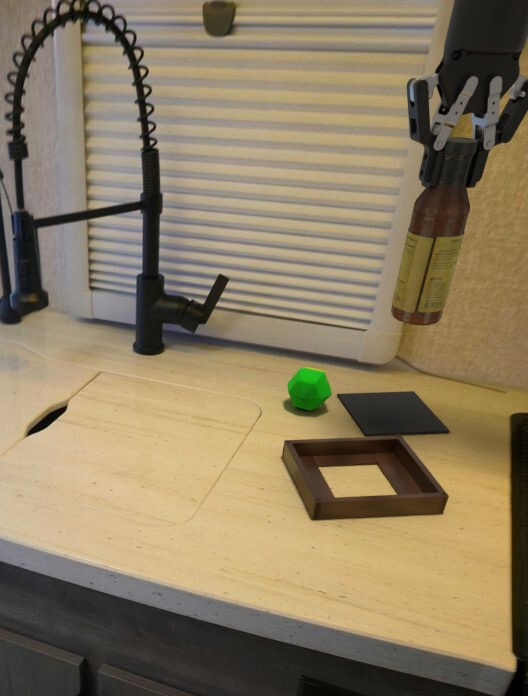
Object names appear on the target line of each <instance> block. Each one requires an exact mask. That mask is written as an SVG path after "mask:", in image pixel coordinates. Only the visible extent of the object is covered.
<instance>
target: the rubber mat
mask: <svg viewBox="0 0 528 696" xmlns="http://www.w3.org/2000/svg"><path fill="white" fill-rule="evenodd" d="M336 396H337V398H338V400H339V401H340V402H341V404H342V405H343V407H344V408H345V410H346V411H347V413H348V414H349V415H350V416H351V419H352V420H353V421H354V422H355V424H356V426H358V428H359V429H360V431H361V432H362V434H363V435H364V437H380V436H408V435H409V436H410V435H432V434H450V431H451V430H450V429H449V428H448V427H447V426H446V425H445V424H444V423H443V421H442V420H441V419H440V418H439V417H438V415H436V414H435V413H434V411H433V410H432V409H431V408H430V407H429V406H428V405H427V404H426V403H425V402H424V400H422V398H421V397H420V396H419V395H418V394H417V393H416V392H415V390H411V391H410V390H409V391H407V390H405V391H382V392H381V391H379V392H375V391H374V392H351V393H350V392H348V393H337V395H336Z"/></svg>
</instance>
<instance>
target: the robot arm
mask: <svg viewBox="0 0 528 696" xmlns="http://www.w3.org/2000/svg"><path fill="white" fill-rule="evenodd" d="M527 41H528V0H454V1H453V5H452V8H451V13H450V18H449V22H448V26H447V30H446V36H445V40H444V44H443V54H442V58H441V60H440V62H439V64H438V65H437V66H436V68H435V70H434V72H433V73H431V74H428V75H425V76H423V77H421V78H417V77H411V78H410V79H409V80H408V81H407V83H406V101H407V114H408V115H407V116H408V126H409V128H408V129H409V138H410V140H412V141H414V142H416V143H418V144H420V145H422V146H423V155H422V159H421V163H420V167H419V171H418V180H419V181H420V182H421V187H423V188H435V186H436V183H437V179H438V175H439V171H440V167H441V163H442V159H443V155H444V151H442V150H441V149H442V148H443V147H444V146H445V144H446V141H447V139H448V137H450V135H451V133H452V131H453V129H455V128H456V126H457V125H458V124H459V122H460V120H461V117H462V116H466V115H469V114H470V115H471V116H470V121H471V124H472V139H476V140H478V143H477V148H476V153H475V154H474V156H473V157H472V161H471V164H470V167H469V171H468V174H467V182H466V188H467V189H473V188H475V187H476V185H477V183H479V182H481V180H482V178H483V175H484V171H485V169H486V165H487V162H488V158H489V153H490V152H491V150H492V149H493V148H494V147H496V146H498V145H500V144H508V143H509V142H511V141H512V139H513V137H514V136H515V134H516V132H517V130H518V129H519V127H520V125H521V124H522V121H523V120H524V118H525V117H526V116H527V113H528V77H527V76H525V75H523V74H521V68H520V59H521V55H522V53H523V51H524V49H525V47H526V44H527ZM435 88H436V90H437V93H438V96H439V98H440V100H439V102H438V104H437V107H436V109H435V110H434V113H433V115H432V119H431V113H430V100H431V99H432V98H433V96H434V90H435ZM508 91H509V92H508ZM507 92H508V95H509V96H508V97H509V98H508V101H506V104H505V106H504V107H503V109H502V111H501V113H500V107H501V106H500V105H501V99H503V97H504V96H505V95H506V94H507ZM431 121H432V122H431Z"/></svg>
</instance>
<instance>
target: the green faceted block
mask: <svg viewBox="0 0 528 696" xmlns="http://www.w3.org/2000/svg"><path fill="white" fill-rule="evenodd" d="M286 384H287V385H286V386H287V392H288V395H289V398H290V400H291V402H292V405H293V407H295V408H299V409H303V410H308V411H314V410H318V409H319V408H320V407H321V406H322V405H323V404H324V403H325V402H326V401H327V400H328V399H329V398H330V397H332V395H333V391H332V386H331V384H330V381H329V378H328V375H327V374H326V371H325V370H323V369H318V368H314V367H310V366H306V367H304V366H303V367H300V368H299V369H298V370H297V372H296V373H295V374H294V375H293V376H292V377H291V378H290V380H288V381H287V383H286Z"/></svg>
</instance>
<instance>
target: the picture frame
mask: <svg viewBox="0 0 528 696" xmlns="http://www.w3.org/2000/svg"><path fill="white" fill-rule="evenodd" d="M281 457H282V460H283V462H284V463H285V464H284V465H285V466H286V468H287V470H288V472H289V474H290V476H291V478H292V480H293V483H294V485H295V487H296V489H297V491H298V493H299V495H300V497H301V499H302V501H303V504H304V505H305V508H306V510H307V512H308V513H309V516H310V518H311V520H312V521H315V520H330V519H331V520H335V519H352V518H353V519H354V518H355V519H356V518H357V519H358V518H375V517H376V518H377V517H398V516H414V515H415V516H416V515H437V514H444V511H445V509H446V506H447V503H448V500H449V498H450V495H449V494H448V492H446V490H445V489H444V487H443V486H442V485H441V484H440V483H439V481H438V480H437V479H436V478H435V476H434V475H433V474H432V472H431V471H430V470H429V468H428V467H427V466H426V465H425V464H424V462H423V461H422V460H421V458H419V455H417V454H416V452H415V451H414V450H413V448H412V447H411V446H410V445H409V443H408V442H407V441H406V439H405V437H403V435H384V436H359V437H357V436H356V437H355V436H354V437H334V438H308V439H307V438H306V439H287V440H286V439H285V440H284V441H283V447H282V453H281ZM368 465H369V466H371V465H377V467H378V468H379V469H380V471H381V473H383V475H384V476H385V478H386V480H387V481H388V482H389V484H390V486H391V487H392V488H393V490H394V491H395V493H396V494H380V495H360V496H359V495H358V496H337V497H335V495H334V493H333V491H332V489H331V487H330V486H329V484H328V482H327V480H326V478H325V477H324V475H323V473H322V471H321V470H320V468H319V467H321V468H322V467H323V468H324V467H345V466H368Z"/></svg>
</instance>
